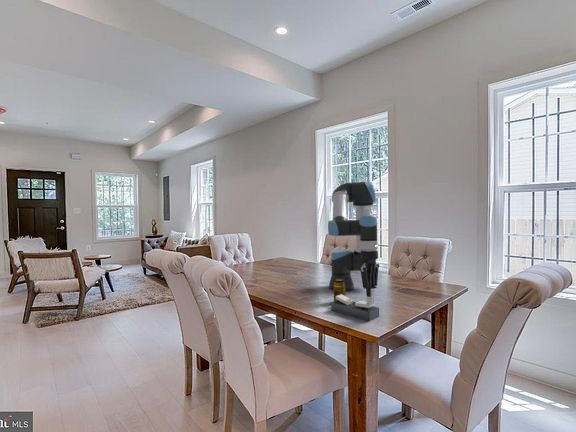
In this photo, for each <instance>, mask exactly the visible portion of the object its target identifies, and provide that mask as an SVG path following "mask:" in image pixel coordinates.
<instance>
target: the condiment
mask: <svg viewBox="0 0 576 432" xmlns="http://www.w3.org/2000/svg"><path fill="white" fill-rule="evenodd" d="M341 294H342V295H344V296H346V291H345V283H344V280H343V279H335V280H334V290H333V301H336V300H337V299H336V296H338V295H341Z"/></svg>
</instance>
